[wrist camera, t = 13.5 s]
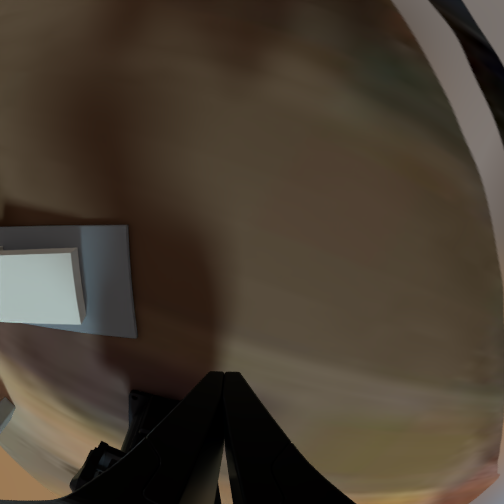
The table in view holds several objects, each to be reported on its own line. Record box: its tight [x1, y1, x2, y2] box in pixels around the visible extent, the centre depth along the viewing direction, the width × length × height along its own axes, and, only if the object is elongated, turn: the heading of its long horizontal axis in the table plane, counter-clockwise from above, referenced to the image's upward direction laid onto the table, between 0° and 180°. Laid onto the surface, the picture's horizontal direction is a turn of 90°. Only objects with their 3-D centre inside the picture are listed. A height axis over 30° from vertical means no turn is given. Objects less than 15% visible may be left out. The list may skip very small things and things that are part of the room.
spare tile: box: [0, 248, 86, 325], centre depth 18 cm, size 2×5×8 cm
